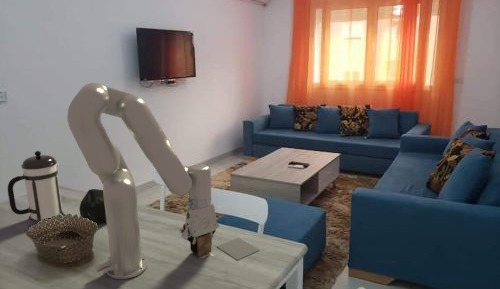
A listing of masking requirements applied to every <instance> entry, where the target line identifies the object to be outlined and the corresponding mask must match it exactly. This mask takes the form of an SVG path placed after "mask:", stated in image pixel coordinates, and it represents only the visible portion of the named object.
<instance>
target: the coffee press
mask: <svg viewBox="0 0 500 289" xmlns="http://www.w3.org/2000/svg"><path fill="white" fill-rule="evenodd" d="M20 166H21V169H22V172H23V174H22V175H21V176H19V175H18V176H15V177H13V178H12V179H11V180H9V182H8V184H7V195H8V201H9V206H10V209H11V211H12V212H13V213H15V214H16V215H26V214H29V215H28V219H29V220H34V221H36V224H37V223H38V222H39V221H41V220H43V221H45V220H44V219H46V218H51V217H52V216H56V217H59V218H60V219H62V217H64V216H65V217H66V214H65V213H64V212H63V207H62V199H61V191H60V184H59V176H58V174H59V171H58V169H57V167H59V166H61V165H60V163H59V162H57V159H55V157H53V156H51V155H47V154H46V155H45V154H43V155H42V152H41V151H39V150H36V151H35V152H34V156H30V157H27V158H26V159H24V160H23V161H22V164H21V165H20ZM23 180H24V184H25V191H26V196H27V203H28V208H25V209H18V208H17V205H16V199H15V194H14V186H15V184H16V183H17V182H19V181H23ZM51 219H52V218H51Z"/></svg>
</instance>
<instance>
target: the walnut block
mask: <svg viewBox="0 0 500 289" xmlns="http://www.w3.org/2000/svg"><path fill="white" fill-rule="evenodd" d="M196 243H197V254H195V255H196V256H198V257H200V258H201V257H202V256H204V255H207V254H209V253H212V245H211V233H207V234H204V235H201V236H198V237H197V240H196Z"/></svg>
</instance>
